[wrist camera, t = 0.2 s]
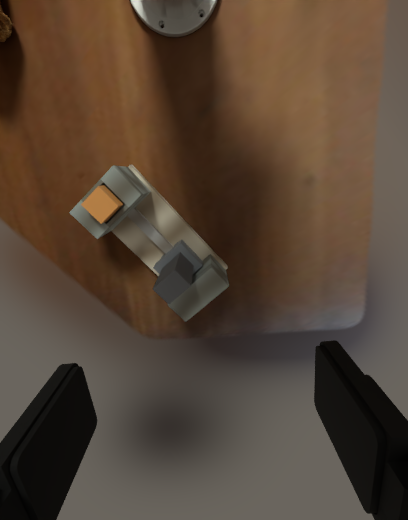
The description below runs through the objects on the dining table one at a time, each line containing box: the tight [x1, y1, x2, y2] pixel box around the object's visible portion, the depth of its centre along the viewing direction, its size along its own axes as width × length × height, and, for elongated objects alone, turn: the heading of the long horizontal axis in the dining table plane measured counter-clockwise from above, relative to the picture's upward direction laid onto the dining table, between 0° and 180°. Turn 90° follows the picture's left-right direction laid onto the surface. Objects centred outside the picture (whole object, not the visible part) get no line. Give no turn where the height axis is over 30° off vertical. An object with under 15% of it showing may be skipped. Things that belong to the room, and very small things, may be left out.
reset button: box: [81, 185, 123, 224], centre depth 35 cm, size 3×3×2 cm
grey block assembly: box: [70, 165, 229, 322], centre depth 42 cm, size 23×10×8 cm, turn 43°
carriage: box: [153, 239, 203, 304], centre depth 40 cm, size 5×6×12 cm
